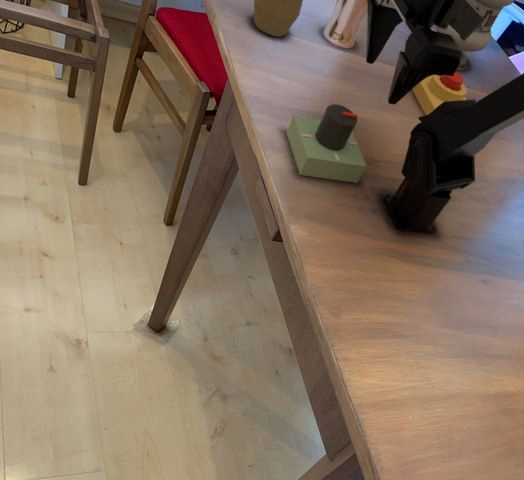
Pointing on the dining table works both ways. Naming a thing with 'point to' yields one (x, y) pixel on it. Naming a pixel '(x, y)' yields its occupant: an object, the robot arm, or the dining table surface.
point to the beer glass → (345, 22)
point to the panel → (323, 153)
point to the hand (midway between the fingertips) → (380, 82)
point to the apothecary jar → (489, 6)
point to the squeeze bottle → (276, 15)
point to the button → (452, 81)
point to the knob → (336, 127)
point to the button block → (436, 93)
